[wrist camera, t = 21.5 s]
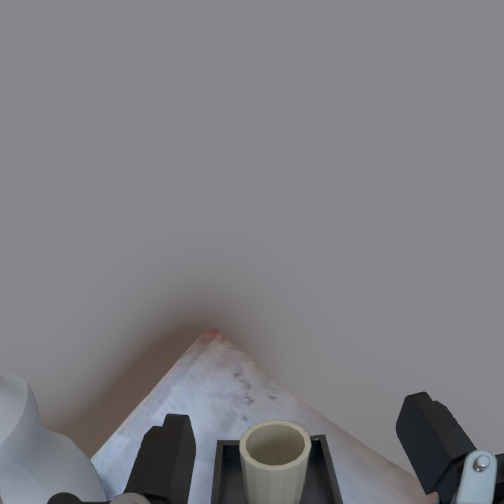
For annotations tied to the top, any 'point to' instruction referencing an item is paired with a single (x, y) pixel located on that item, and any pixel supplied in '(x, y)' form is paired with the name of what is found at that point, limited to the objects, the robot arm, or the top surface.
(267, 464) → the cup
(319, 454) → the black tray
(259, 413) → the top surface
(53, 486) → the soap bottle
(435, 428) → the robot arm
